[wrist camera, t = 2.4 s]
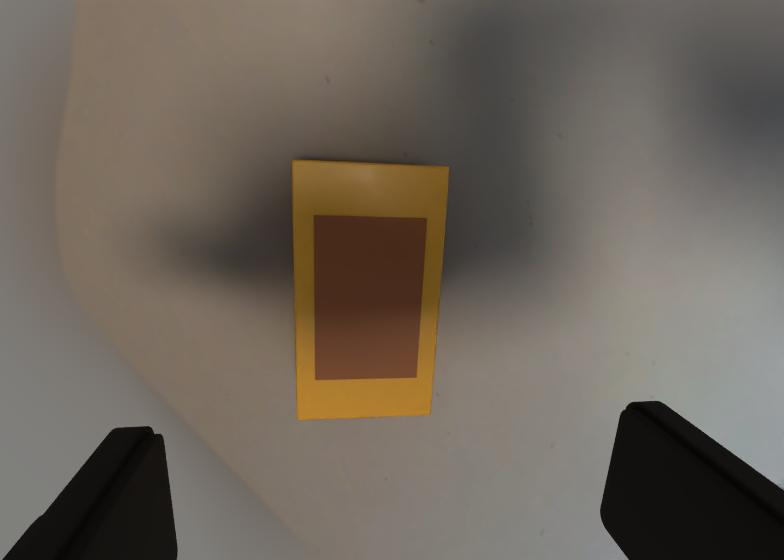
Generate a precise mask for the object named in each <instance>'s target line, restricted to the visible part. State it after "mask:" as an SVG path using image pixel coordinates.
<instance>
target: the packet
mask: <svg viewBox="0 0 784 560" xmlns="http://www.w3.org/2000/svg"><path fill="white" fill-rule="evenodd" d="M449 173H450V168H449V167H447V166H430V165H408V164H385V163H363V162H341V161H318V160H292V206H293V253H294V299H295V346H296V393H297V419H298V420H312V419H339V418H366V417H393V416H420V415H430V414H431V403H432V390H433V378H434V365H435V352H436V339H437V327H438V314H439V301H440V288H441V275H442V263H443V250H444V237H445V224H446V212H447V199H448V186H449Z"/></svg>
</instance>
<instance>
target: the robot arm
mask: <svg viewBox="0 0 784 560" xmlns="http://www.w3.org/2000/svg"><path fill="white" fill-rule="evenodd" d="M600 514H601V519H602V522H603V525H604V527H605V528H606V530H607V531H608V533H609V534H610V535H611V537H612V538H613V539H614V541H615V542H616V543H617V544H618V546H619V547H620V548H621V550H622V551H623V552H624V554H625V555H626V556H627V558H628V559H629V560H784V490H782V489H781V488H780V487H778V486H777V485H776V484H774V483H773V482H771V481H770V480H769V479H767V478H766V477H764V476H763V475H762V474H760V473H759V472H758V471H756V470H755V469H753V468H752V467H751V466H749V465H748V464H747V463H745V462H744V461H742V460H741V459H740V458H738V457H737V456H735V455H734V454H733V453H731V452H730V451H729V450H727V449H726V448H724V447H723V446H722V445H720V444H719V443H718V442H716V441H715V440H713V439H712V438H711V437H709V436H708V435H707V434H705V433H704V432H702V431H701V430H700V429H698V428H697V427H695V426H694V425H693V424H691V423H690V422H689V421H687V420H686V419H684V418H683V417H682V416H680V415H679V414H678V413H676V412H675V411H673V410H672V409H671V408H669V407H668V406H666V405H665V404H663V403H662V402H660V401H644V402H632V403H629V404H628V406H627V407H626V410H623V411H622V412H621V415H620V418H619V423H618V428H617V433H616V437H615V442H614V447H613V451H612V456H611V461H610V466H609V470H608V475H607V480H606V484H605V489H604V494H603V499H602V503H601V508H600ZM3 560H177V540H176V532H175V524H174V517H173V509H172V501H171V493H170V485H169V477H168V469H167V461H166V453H165V445H164V439H163V436H162V435H161V434H154V432H153V430H152V428H151V427H149V426H144V427H124V428H115V429H113V430H112V431H111V432H110V433H109V434H108V435H107V436H106V438H105V439H104V440H103V441H102V443H101V444H100V445H99V446H98V448H97V449H96V450H95V451H94V453H93V454H92V455H91V456H90V457H89V459H88V460H87V461H86V462H85V464H84V465H83V466H82V467H81V468H80V470H79V471H78V472H77V474H76V475H75V476H74V477H73V478H72V480H71V481H70V482H69V483H68V485H67V486H66V487H65V488H64V490H63V491H62V492H61V493H60V494H59V496H58V497H57V498H56V499H55V501H54V502H53V503H52V504H51V505H50V507H49V508H48V509H47V511H46V512H45V513H44V514H43V515H42V516H40V517H39V518H38V519H37V520H35V522H34V523H32V524H31V525H30V527H29V528H28V529H27V530H26V532H25V533H24V534H23V535H22V536H21V538H20V539H19V540H18V541H17V543H16V544H15V545H14V546H13V547H12V549H11V550H10V551H9V552H8V553H7V555H6V556H5V557H4V558H3Z"/></svg>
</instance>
